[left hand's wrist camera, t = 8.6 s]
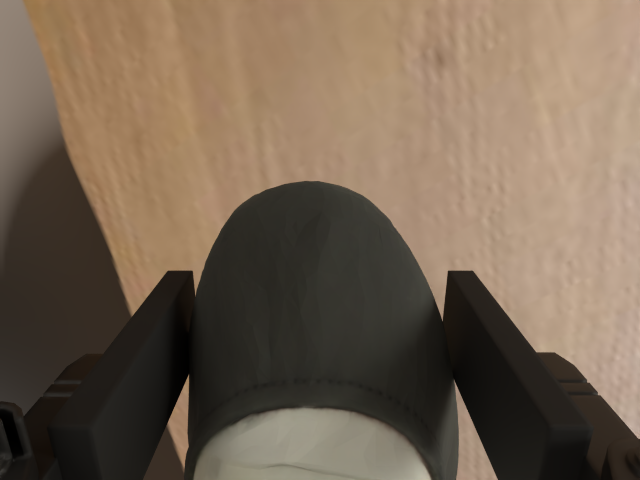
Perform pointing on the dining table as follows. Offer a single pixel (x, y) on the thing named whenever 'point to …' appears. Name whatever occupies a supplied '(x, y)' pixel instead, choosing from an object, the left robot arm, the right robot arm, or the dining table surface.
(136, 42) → the dining table surface
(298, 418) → the ballet flat
